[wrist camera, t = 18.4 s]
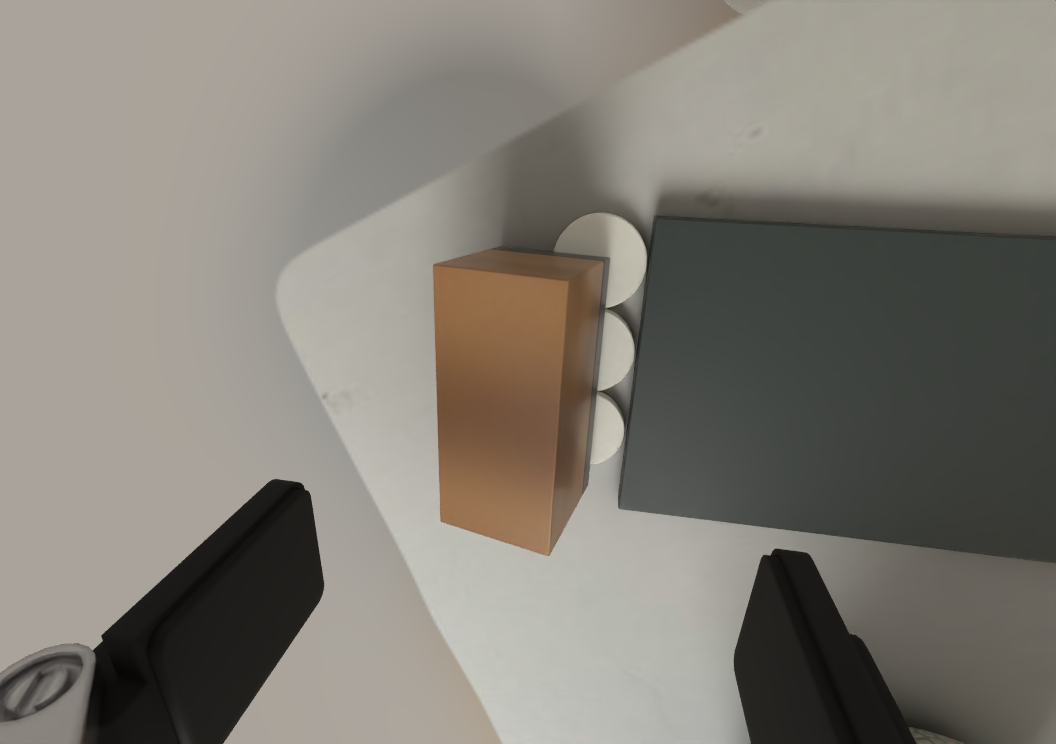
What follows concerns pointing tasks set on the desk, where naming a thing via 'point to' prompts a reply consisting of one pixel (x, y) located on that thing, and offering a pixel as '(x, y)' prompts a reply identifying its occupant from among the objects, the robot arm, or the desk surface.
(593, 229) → the white disc
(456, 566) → the desk surface
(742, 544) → the desk surface
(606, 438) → the white disc
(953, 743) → the planter
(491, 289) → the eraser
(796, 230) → the board
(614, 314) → the white disc
